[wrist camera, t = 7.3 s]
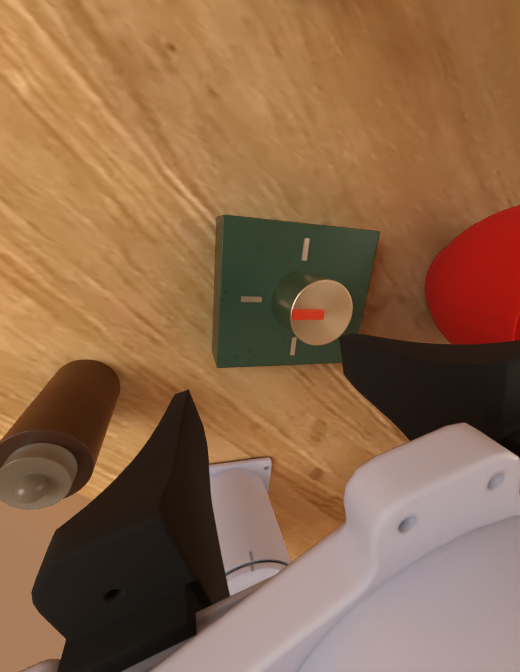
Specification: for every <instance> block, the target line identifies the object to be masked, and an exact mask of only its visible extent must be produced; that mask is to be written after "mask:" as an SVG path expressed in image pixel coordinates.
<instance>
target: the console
mask: <svg viewBox="0 0 520 672" xmlns="http://www.w3.org/2000/svg"><path fill="white" fill-rule="evenodd" d="M379 234H380V232H379V231H373V230H363V229H354V228H345V227H335V226H326V225H317V224H307V223H298V222H288V221H279V220H270V219H260V218H251V217H242V216H232V215H221V216H218V217H216V244H215V275H214V307H213V338H212V353H213V356H214V359H215V363H216V366H217V368H230V367H254V366H278V365H301V364H325V363H342V357H341V349H340V342H339V337H341V336H344V335H347V334H350V333H356V334H359V332H360V327H361V322H362V317H363V312H364V307H365V302H366V297H367V293H368V288H369V283H370V278H371V273H372V268H373V263H374V258H375V254H376V249H377V244H378V239H379ZM298 271H305V272H309V273H312V274H316V275H319V276H322V277H325V278H328V279H331V280H334V281H337V282H339V283H340V284H342V285H343V286H344V287H345V288H346V289H347V290H348V292H349V294H350V296H351V299H352V305H353V310H352V316H351V320H350V322H349V324H348V326H347V328H346V329H345V331H344V332H343V333H342V334H341V335H340V336H339V337H338V338H337V339H335V340H334V341H332V342H330V343H327V344H324V345H309V344H306V343H304V342H302V341H301V340H300V339H298V338H297V337H296V336H295V335H294V334H293V333H292V332H290V331H289V330H288V329H287V328H286V327H285V326H284V325H283V324H281V323H280V322H279V321H278V320H277V318H276V317H275V315H274V313H273V309H272V296H273V292H274V290H275V288H276V286H277V285H278V283H279V282H280V281H281V280H282V279H283V278H284V277H286V276H287V275H289V274H291V273H294V272H298Z"/></svg>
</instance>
